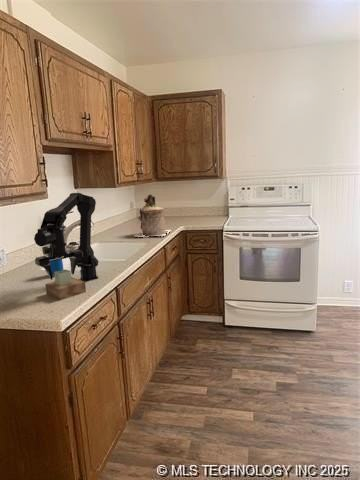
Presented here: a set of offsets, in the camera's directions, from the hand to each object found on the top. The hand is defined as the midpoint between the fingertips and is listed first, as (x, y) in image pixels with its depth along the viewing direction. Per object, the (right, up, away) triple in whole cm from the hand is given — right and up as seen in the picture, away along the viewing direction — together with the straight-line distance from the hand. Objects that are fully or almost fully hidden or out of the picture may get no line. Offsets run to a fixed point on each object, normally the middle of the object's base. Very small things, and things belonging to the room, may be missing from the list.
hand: (62, 277), depth 149 cm
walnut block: (+1, -7, +1) cm, 8 cm away
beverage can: (-13, -2, +31) cm, 33 cm away
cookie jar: (+29, +19, +126) cm, 131 cm away
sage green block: (0, -3, 0) cm, 3 cm away
